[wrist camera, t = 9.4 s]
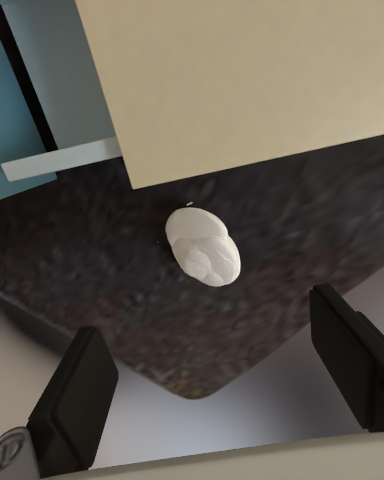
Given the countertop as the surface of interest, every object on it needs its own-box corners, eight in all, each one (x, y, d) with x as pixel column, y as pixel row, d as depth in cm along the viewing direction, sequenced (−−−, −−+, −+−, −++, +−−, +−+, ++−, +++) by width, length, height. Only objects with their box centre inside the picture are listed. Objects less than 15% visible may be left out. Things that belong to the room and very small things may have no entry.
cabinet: (157, 164, 18) (132, 189, 10) (101, -54, 14) (-17, -298, 6) (353, 120, 17) (491, 111, 9) (360, -131, 13) (634, -552, 5)
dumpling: (246, 256, 22) (250, 292, 18) (189, 269, 23) (183, 304, 20) (220, 182, 18) (219, 211, 15) (154, 203, 19) (140, 233, 16)
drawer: (-23, 197, 18) (-135, 231, 12) (-123, 16, 14) (-367, -73, 8) (219, 141, 17) (236, 148, 11) (184, -75, 13) (178, -268, 7)
